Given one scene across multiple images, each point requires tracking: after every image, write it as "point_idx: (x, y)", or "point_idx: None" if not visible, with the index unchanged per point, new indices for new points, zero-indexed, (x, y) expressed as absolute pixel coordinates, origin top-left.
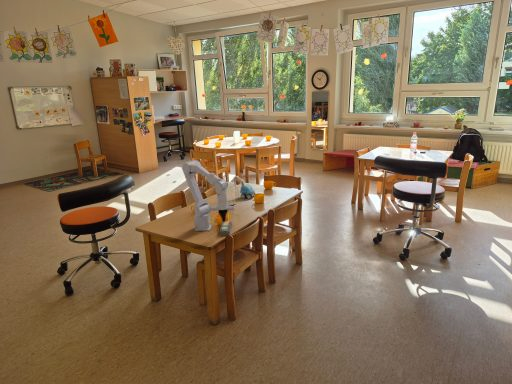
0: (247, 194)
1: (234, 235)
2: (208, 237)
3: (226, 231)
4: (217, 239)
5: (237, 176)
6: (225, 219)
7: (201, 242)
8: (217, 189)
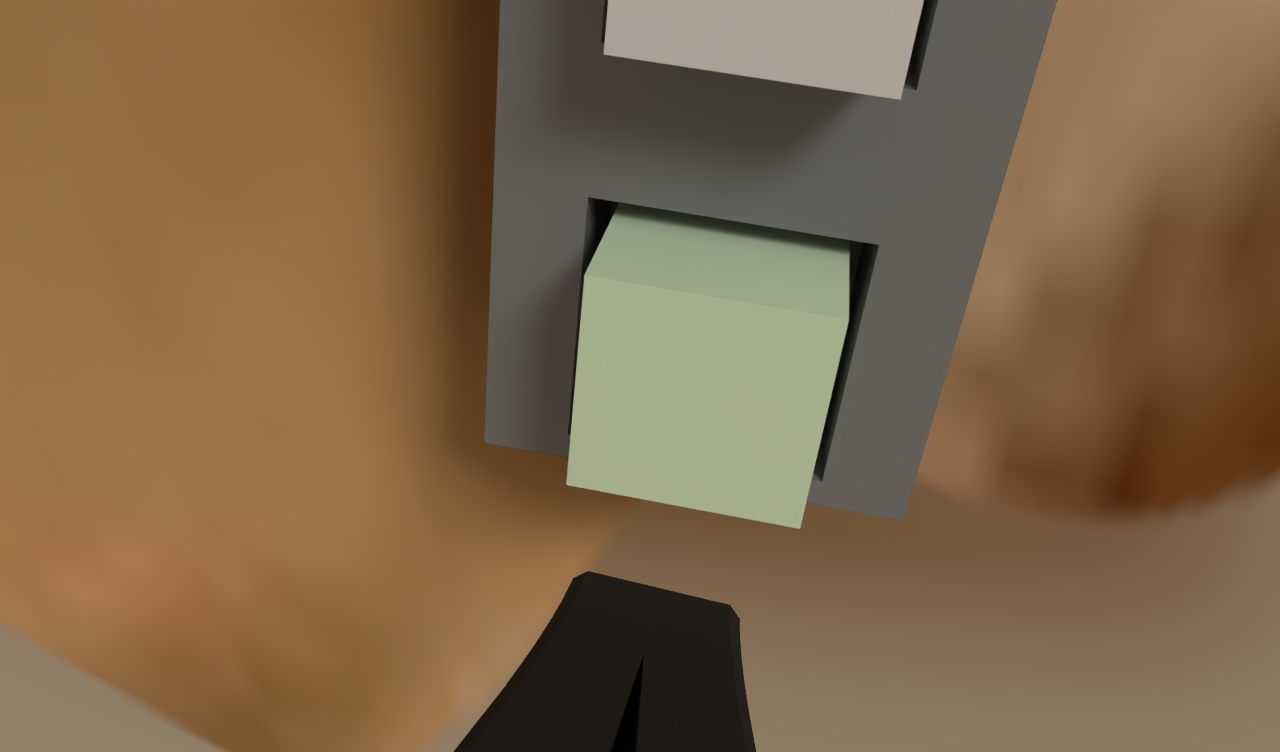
0: None
1: (1079, 491)
2: (169, 408)
3: None
4: (483, 603)
5: None
6: (740, 665)
7: (75, 641)
8: None
